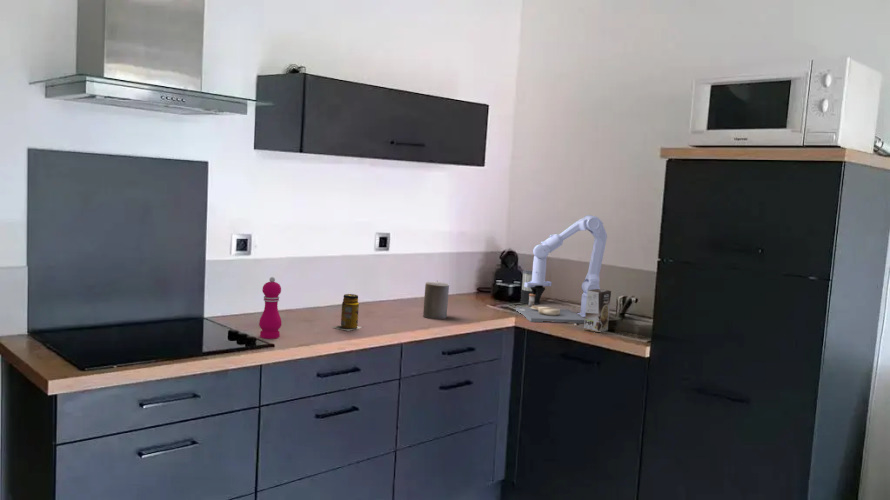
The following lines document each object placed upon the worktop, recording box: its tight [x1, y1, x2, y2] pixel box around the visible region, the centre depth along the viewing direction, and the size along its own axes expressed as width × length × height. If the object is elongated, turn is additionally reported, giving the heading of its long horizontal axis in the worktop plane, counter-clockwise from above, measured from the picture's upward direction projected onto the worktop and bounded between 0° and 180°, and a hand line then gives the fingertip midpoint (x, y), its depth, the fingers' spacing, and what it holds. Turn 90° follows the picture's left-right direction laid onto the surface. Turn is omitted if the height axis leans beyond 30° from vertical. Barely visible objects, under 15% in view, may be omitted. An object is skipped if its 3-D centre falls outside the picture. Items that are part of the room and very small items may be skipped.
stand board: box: [515, 307, 585, 324], centre depth 310 cm, size 24×24×2 cm
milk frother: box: [519, 270, 540, 305], centre depth 347 cm, size 14×16×15 cm
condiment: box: [332, 293, 363, 332], centre depth 262 cm, size 7×8×12 cm
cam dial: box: [528, 294, 561, 315], centre depth 311 cm, size 16×9×7 cm, turn 43°
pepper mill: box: [258, 276, 282, 340], centre depth 239 cm, size 7×7×20 cm
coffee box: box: [583, 288, 612, 333], centre depth 287 cm, size 9×6×16 cm
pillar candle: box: [422, 280, 450, 320], centre depth 293 cm, size 10×10×15 cm
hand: (536, 303), depth 317 cm, fingers closed
